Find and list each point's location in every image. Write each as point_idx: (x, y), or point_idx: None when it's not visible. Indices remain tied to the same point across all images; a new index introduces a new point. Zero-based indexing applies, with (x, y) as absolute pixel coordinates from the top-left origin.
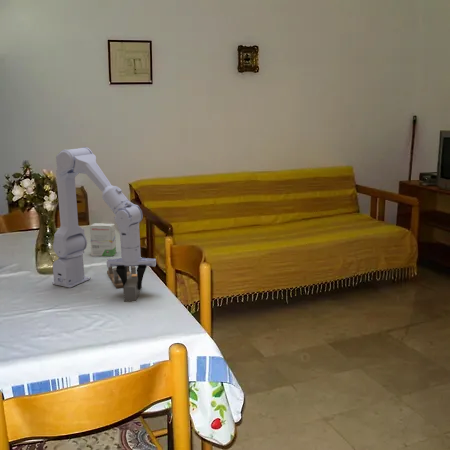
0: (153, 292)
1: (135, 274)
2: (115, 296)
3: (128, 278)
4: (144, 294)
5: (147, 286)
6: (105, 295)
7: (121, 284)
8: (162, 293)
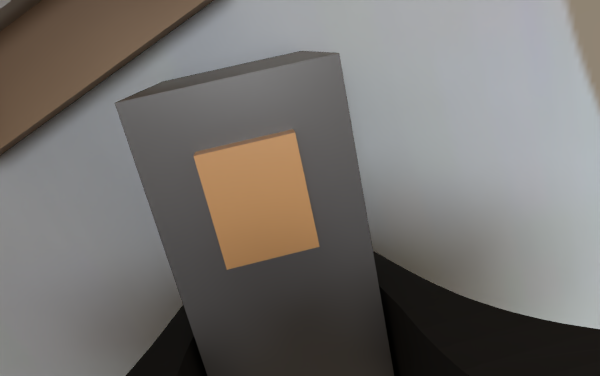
0: (477, 188)
1: (262, 162)
2: (128, 366)
3: (205, 328)
4: (400, 257)
5: (363, 11)
6: (4, 368)
7: (26, 117)
8: (570, 196)
